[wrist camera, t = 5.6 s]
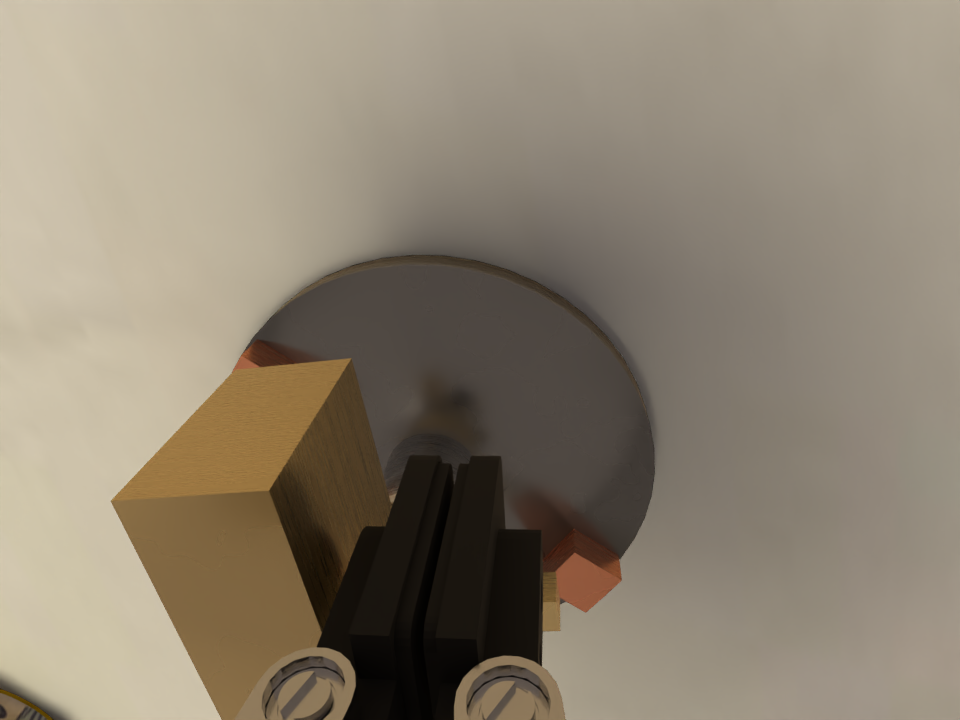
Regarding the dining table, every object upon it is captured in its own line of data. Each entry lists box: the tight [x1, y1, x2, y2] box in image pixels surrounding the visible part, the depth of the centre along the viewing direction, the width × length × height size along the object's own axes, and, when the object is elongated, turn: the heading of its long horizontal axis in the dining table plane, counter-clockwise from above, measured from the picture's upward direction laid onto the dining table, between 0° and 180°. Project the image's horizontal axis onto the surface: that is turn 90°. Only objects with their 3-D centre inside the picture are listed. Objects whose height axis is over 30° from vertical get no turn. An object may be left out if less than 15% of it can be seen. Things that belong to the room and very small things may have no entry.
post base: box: [232, 255, 655, 612], centre depth 21 cm, size 15×15×6 cm
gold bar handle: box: [111, 358, 560, 720], centre depth 15 cm, size 9×16×6 cm, turn 9°
